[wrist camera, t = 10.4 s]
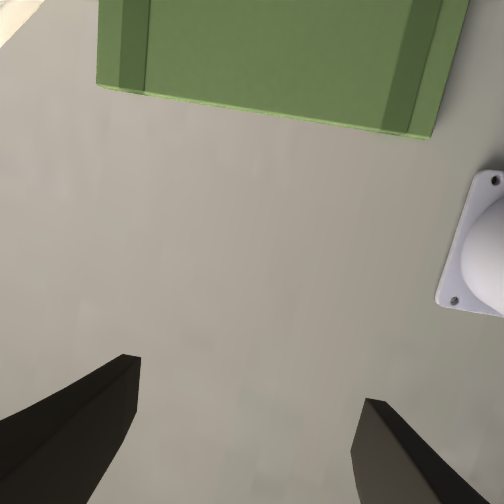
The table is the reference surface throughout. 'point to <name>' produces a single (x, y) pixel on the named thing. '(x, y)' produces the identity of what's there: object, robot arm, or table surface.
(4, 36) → the calculator
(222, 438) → the table surface
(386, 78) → the towel
